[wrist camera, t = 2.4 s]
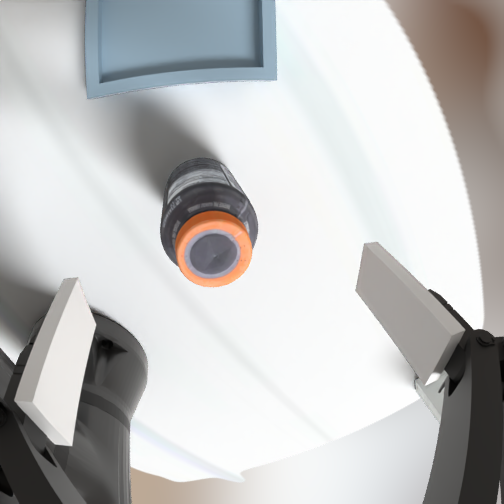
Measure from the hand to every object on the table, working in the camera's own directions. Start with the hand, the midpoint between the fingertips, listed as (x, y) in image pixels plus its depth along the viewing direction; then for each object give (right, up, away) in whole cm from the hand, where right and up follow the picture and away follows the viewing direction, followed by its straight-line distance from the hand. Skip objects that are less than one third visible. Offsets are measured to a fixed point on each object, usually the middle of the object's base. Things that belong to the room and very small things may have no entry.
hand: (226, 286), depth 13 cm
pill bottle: (-3, +7, +12) cm, 14 cm away
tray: (-4, +20, +4) cm, 21 cm away
